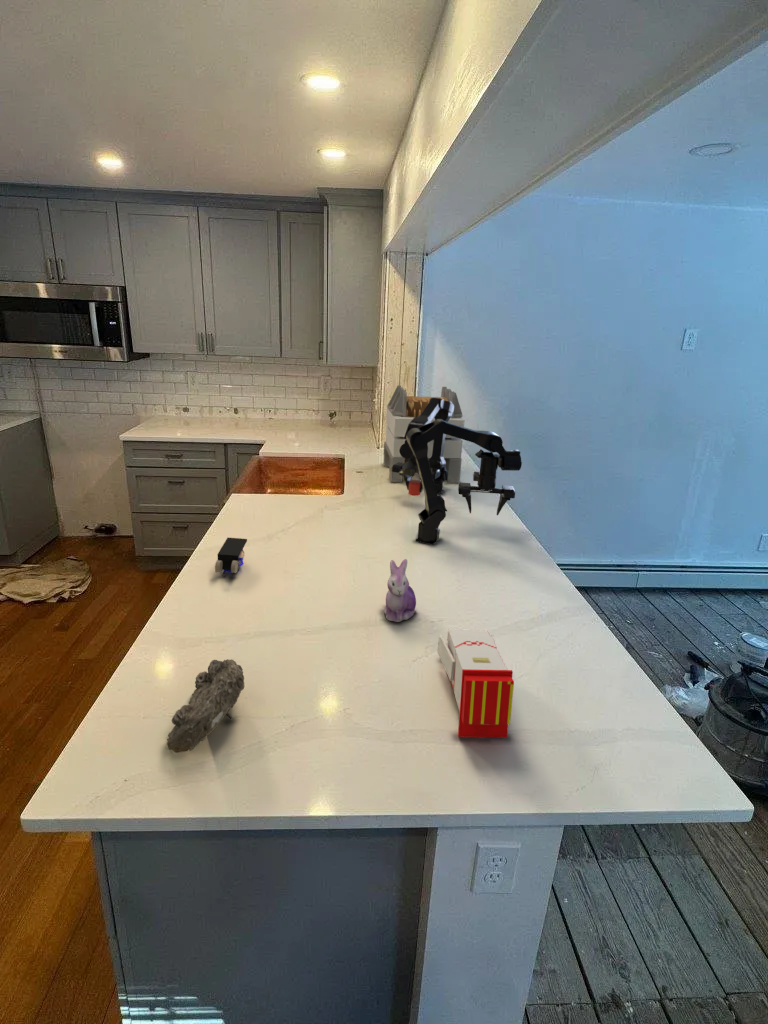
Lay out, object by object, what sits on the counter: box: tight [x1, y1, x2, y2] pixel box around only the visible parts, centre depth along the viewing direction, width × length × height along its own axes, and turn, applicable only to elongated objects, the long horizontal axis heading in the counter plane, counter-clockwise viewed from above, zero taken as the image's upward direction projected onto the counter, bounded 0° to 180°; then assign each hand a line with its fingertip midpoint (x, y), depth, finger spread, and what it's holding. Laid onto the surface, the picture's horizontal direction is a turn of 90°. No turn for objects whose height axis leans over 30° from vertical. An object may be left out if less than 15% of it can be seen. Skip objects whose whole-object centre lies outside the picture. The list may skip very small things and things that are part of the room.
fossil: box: [166, 658, 245, 754], centre depth 106 cm, size 22×10×15 cm
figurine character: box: [214, 537, 248, 578], centre depth 166 cm, size 7×8×15 cm
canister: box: [407, 479, 422, 497], centre depth 225 cm, size 5×5×5 cm
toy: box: [437, 628, 515, 738], centre depth 117 cm, size 12×13×30 cm
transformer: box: [383, 384, 465, 484], centre depth 268 cm, size 34×33×41 cm
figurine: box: [384, 558, 417, 623], centre depth 145 cm, size 9×10×15 cm
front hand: (483, 513), depth 195 cm, fingers open, 9 cm apart
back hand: (414, 491), depth 225 cm, fingers closed on canister, 5 cm apart
